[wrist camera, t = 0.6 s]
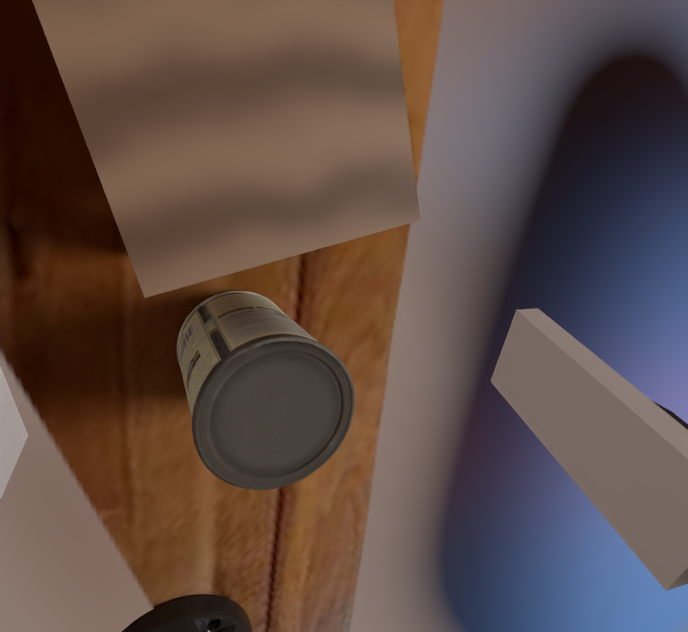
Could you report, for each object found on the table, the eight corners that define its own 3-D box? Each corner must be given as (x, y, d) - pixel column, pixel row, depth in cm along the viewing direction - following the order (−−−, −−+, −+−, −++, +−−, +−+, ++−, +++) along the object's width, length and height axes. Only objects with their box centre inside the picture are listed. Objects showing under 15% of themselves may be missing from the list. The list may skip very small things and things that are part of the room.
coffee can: (296, 383, 42) (358, 463, 30) (186, 409, 38) (206, 513, 26) (286, 281, 39) (352, 323, 27) (166, 298, 35) (178, 357, 23)
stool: (347, 211, 40) (420, 220, 29) (144, 264, 34) (144, 298, 23) (305, -21, 33) (379, -117, 23) (45, -6, 28) (-16, -126, 17)
